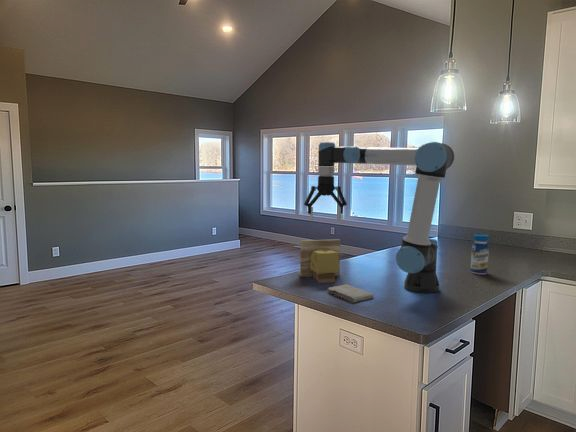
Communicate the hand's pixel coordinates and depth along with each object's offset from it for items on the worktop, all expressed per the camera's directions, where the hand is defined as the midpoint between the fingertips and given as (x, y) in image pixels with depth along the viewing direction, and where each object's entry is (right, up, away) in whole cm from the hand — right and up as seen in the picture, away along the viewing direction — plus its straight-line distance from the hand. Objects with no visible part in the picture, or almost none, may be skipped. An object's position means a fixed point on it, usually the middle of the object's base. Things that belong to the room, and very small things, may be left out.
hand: (325, 220), depth 199 cm
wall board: (-1, -28, +6) cm, 29 cm away
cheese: (0, -25, +3) cm, 25 cm away
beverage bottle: (+82, -28, +20) cm, 89 cm away
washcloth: (+8, -32, -21) cm, 39 cm away
